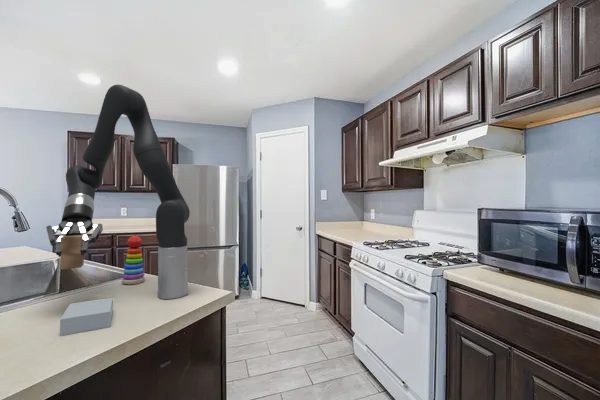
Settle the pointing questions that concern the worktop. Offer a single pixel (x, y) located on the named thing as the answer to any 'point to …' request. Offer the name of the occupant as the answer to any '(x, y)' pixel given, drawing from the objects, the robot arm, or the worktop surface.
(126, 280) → the stacking toy
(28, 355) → the worktop surface
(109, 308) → the slate slab
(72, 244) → the walnut block
